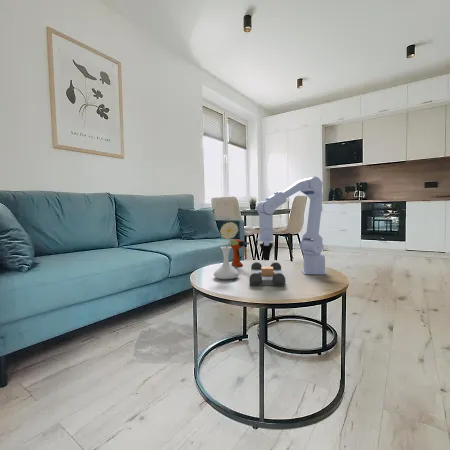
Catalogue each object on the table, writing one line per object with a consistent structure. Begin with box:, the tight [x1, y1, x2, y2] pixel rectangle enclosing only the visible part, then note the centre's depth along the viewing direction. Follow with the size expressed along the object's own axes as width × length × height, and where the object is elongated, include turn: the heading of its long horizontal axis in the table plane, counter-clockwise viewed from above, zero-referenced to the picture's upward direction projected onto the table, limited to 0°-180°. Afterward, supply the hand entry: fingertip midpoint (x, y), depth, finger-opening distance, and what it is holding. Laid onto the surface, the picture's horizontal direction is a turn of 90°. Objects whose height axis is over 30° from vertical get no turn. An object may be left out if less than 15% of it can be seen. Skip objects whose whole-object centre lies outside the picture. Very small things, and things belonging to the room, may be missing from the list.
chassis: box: [248, 261, 286, 287], centre depth 120 cm, size 14×24×5 cm, turn 173°
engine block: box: [261, 266, 273, 276], centre depth 120 cm, size 5×4×5 cm
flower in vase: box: [213, 221, 240, 280], centre depth 121 cm, size 13×11×25 cm
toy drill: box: [230, 238, 250, 268], centre depth 145 cm, size 5×19×15 cm, turn 24°
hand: (266, 260), depth 120 cm, fingers closed
